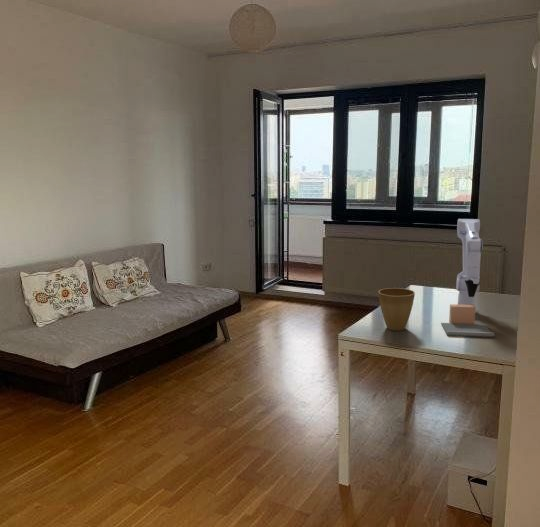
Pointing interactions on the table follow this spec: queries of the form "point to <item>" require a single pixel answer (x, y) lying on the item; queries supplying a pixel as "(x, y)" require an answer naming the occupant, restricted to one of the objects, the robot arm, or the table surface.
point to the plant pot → (396, 307)
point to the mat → (467, 330)
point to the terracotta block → (462, 314)
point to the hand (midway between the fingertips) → (471, 296)
